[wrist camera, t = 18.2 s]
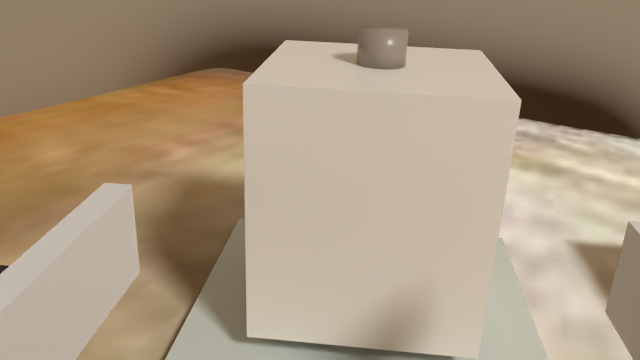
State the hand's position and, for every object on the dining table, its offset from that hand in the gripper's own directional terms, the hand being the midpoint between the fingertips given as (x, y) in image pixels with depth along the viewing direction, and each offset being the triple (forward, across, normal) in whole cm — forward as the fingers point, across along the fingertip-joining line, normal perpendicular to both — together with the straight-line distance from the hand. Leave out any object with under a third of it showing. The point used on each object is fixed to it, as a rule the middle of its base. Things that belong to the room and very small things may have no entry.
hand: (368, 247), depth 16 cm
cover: (+10, 0, -9) cm, 14 cm away
